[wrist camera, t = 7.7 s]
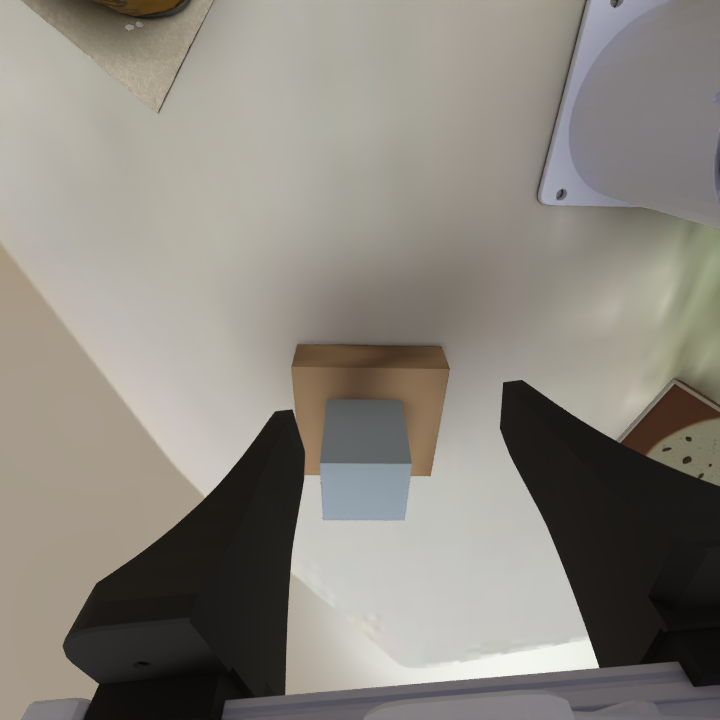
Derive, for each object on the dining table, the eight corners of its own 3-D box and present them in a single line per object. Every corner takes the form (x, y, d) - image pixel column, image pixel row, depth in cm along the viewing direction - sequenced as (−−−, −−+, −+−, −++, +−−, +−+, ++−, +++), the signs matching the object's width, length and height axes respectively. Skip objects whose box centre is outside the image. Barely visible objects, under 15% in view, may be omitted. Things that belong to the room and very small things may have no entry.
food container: (641, 496, 31) (745, 633, 23) (577, 482, 30) (662, 621, 22) (764, 381, 25) (970, 513, 17) (689, 360, 24) (868, 488, 16)
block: (401, 399, 23) (411, 463, 18) (396, 452, 25) (404, 520, 21) (326, 399, 22) (319, 463, 18) (328, 452, 25) (323, 520, 21)
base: (441, 346, 23) (449, 369, 21) (425, 449, 28) (430, 476, 26) (297, 344, 23) (291, 366, 21) (305, 448, 28) (301, 474, 26)
